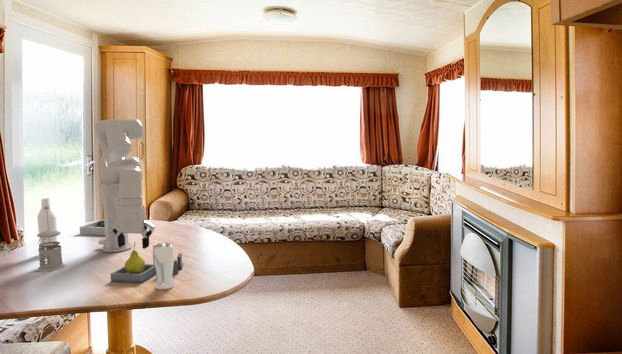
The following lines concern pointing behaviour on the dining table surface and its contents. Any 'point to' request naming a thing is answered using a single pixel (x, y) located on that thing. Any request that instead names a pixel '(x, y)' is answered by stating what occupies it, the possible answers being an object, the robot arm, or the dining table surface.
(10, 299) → the dining table surface
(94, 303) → the dining table surface
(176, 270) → the clip
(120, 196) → the robot arm
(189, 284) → the dining table surface
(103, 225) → the pipe connector
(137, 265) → the fruit
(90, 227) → the tray
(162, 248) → the beer glass
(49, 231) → the french press
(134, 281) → the grey square tray
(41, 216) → the water bottle
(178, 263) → the clip
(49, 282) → the dining table surface
